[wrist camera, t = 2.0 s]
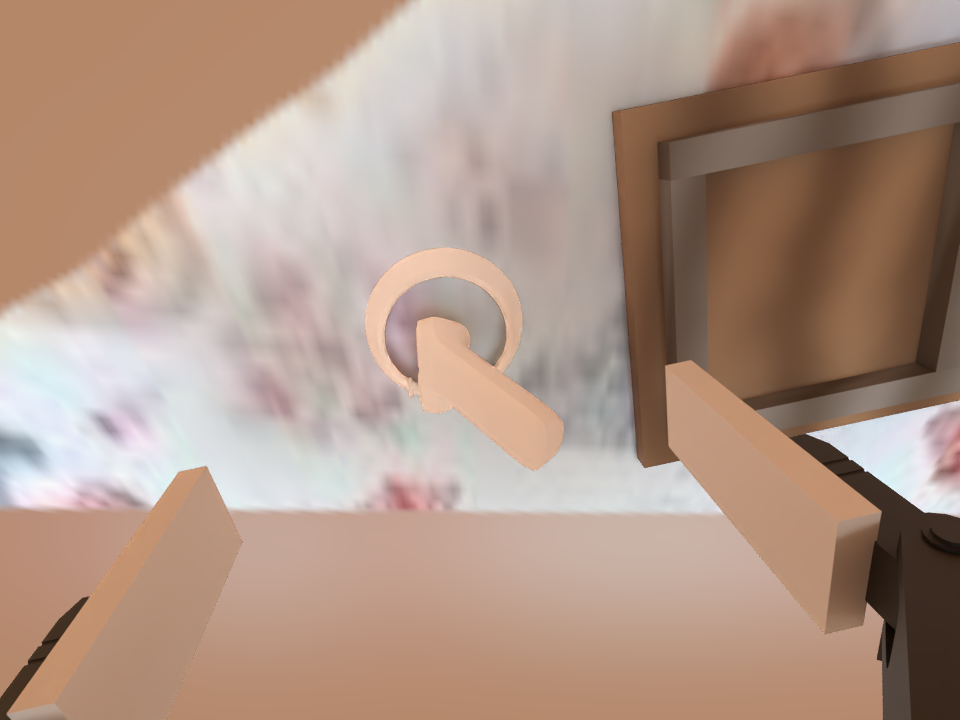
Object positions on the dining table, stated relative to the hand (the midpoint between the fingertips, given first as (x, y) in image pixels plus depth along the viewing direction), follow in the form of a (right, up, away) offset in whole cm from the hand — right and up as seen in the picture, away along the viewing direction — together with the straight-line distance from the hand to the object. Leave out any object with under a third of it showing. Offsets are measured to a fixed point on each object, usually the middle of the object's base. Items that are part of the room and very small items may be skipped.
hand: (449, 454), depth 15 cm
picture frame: (+17, +7, +11) cm, 22 cm away
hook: (-1, +4, +11) cm, 12 cm away
